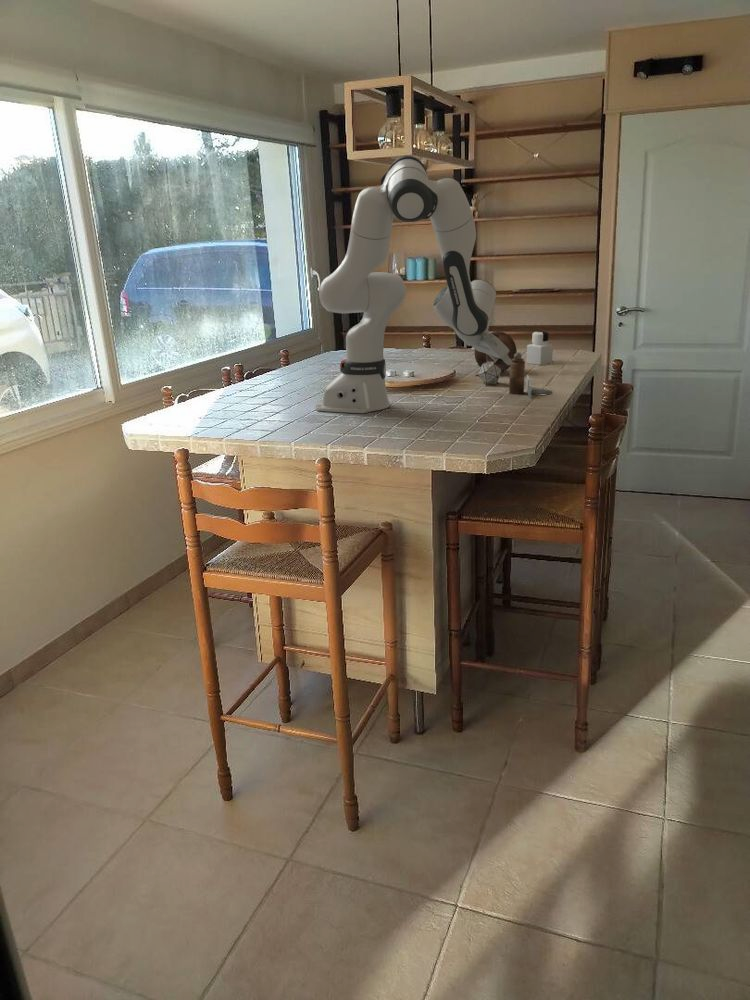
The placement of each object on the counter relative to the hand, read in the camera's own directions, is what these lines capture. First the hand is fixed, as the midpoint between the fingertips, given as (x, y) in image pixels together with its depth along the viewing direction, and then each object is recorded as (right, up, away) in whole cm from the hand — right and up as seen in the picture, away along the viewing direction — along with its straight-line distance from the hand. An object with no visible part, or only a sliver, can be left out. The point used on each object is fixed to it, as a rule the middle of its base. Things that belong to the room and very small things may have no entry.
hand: (503, 361), depth 237 cm
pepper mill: (+5, -9, +6) cm, 12 cm away
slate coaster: (+13, -9, +5) cm, 16 cm away
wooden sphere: (+4, +3, +40) cm, 40 cm away
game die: (-1, -4, +20) cm, 21 cm away
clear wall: (+9, -9, +6) cm, 14 cm away
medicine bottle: (+23, +9, +56) cm, 61 cm away
